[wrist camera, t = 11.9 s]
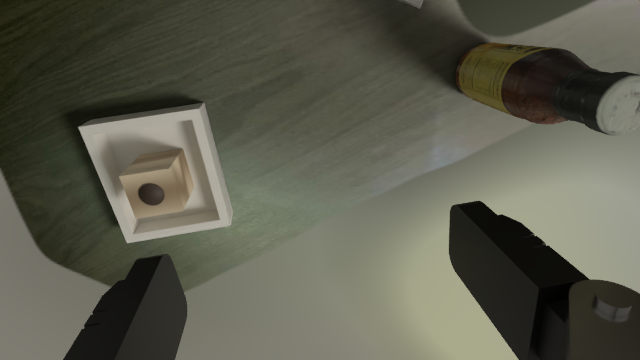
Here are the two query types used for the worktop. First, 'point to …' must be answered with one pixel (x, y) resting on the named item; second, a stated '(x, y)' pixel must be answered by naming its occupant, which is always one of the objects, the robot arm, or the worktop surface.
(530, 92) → the sauce bottle
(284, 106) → the worktop surface
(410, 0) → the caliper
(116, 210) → the tray
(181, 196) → the block
